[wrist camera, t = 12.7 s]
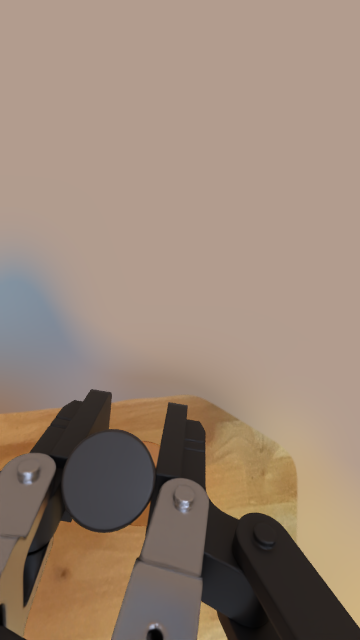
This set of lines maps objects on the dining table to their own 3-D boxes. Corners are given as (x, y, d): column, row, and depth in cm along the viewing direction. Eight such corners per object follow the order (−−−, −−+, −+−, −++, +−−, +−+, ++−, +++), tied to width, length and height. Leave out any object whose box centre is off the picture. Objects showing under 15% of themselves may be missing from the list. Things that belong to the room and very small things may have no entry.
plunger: (176, 445, 25) (204, 377, 9) (177, 519, 23) (216, 604, 7) (112, 446, 25) (22, 378, 9) (107, 521, 23) (-25, 615, 6)
